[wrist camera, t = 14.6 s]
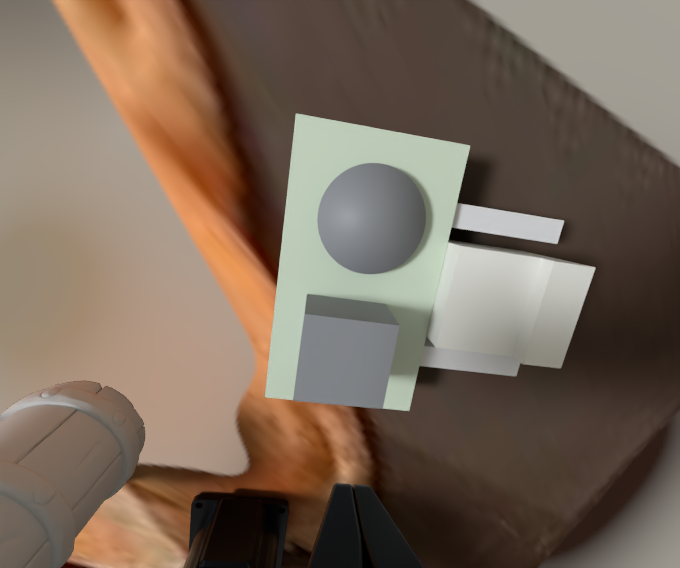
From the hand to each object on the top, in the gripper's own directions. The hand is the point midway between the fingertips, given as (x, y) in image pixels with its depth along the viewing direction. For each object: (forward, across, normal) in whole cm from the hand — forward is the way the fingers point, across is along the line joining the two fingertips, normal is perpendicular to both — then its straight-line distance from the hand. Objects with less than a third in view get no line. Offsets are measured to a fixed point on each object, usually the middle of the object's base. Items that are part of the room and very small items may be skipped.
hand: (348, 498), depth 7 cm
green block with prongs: (+13, -4, -3) cm, 13 cm away
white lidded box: (+13, -8, -3) cm, 15 cm away
